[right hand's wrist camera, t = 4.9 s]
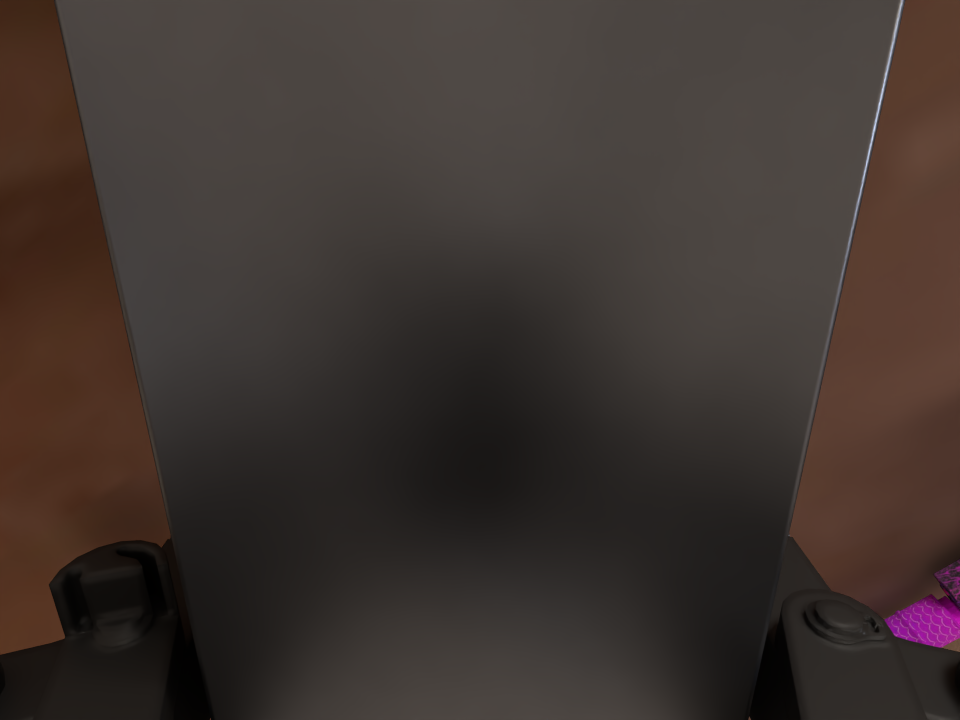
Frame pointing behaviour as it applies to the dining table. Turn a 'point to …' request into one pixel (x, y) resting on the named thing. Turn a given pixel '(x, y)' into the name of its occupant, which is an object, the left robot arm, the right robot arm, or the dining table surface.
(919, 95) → the dining table surface
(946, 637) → the handgun
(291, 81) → the bar
